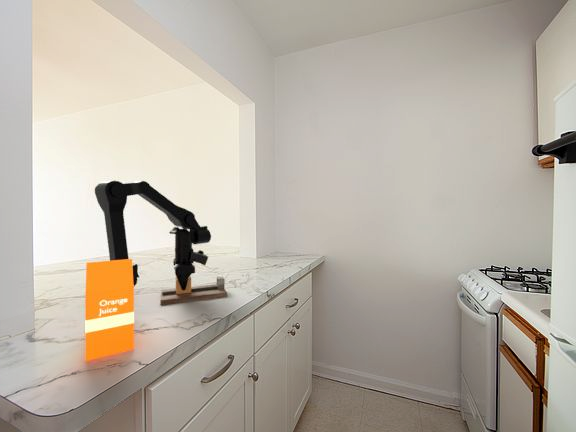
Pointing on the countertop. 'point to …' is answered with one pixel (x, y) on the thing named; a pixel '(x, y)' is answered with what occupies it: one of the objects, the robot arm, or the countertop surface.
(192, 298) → the track
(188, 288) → the block
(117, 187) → the robot arm
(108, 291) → the orange juice
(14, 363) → the countertop surface
